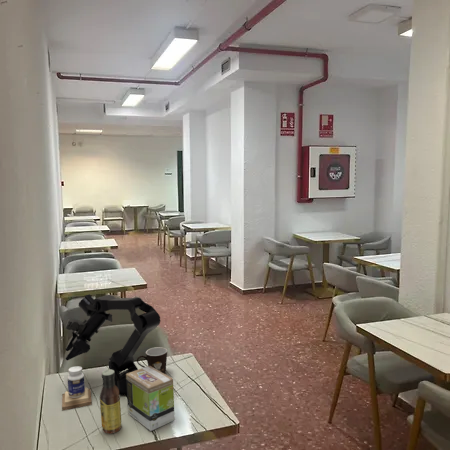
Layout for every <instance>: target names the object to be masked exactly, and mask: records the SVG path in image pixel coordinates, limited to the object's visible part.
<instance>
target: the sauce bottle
mask: <svg viewBox="0 0 450 450" xmlns="http://www.w3.org/2000/svg"><path fill="white" fill-rule="evenodd" d="M114 377H115V371H114V370H111V369H109V368H108V369H105V370H103V371H102V372H101V378H102V385H101V386H102V387H101V391H100V393H99V407H100V421H101V428H102V431H103V433H105V434H109V435H110V434H116V433H118V432H119V431H120V430H121V428H122V408H121V397H120V395H119V389H118V388H117V386H116V385H115V378H114Z"/></svg>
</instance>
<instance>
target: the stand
mask: <svg viewBox="0 0 450 450" xmlns="http://www.w3.org/2000/svg"><path fill="white" fill-rule="evenodd" d="M61 396H62V397H61V400H62V401H61V406H62V407H61V411H68V410H71V409H72V410H73V409H78V408H83V407H86V406H87V407H88V406H92V405H93V399H92V390H91V388H88V387H85V394H84V395H83V396H81V397H78V398H71V397H69V394H68V391H64V393H62V395H61Z"/></svg>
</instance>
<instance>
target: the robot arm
mask: <svg viewBox="0 0 450 450" xmlns="http://www.w3.org/2000/svg"><path fill="white" fill-rule="evenodd" d="M78 308H80V310H82V312H83V313H84V314H85V315H86V316H87V317H88V318H87V319H84V320H78V319H75V318H72V317H69V318H68V319H67V321H66V324H65V329H66V330H68V331H71V335H72V336H71V338H70V340H69V342H68V344H67V346H66V348H65V351H66V352H68V354H67V355H66V357H65V361H70V360H72V359H73V358H76V357H77V356H79V355H82V354H83V355H84V354H87V353H88V352H89V351H90V350H91V343H90V342H91V341H92V337H94V336H95V334H98V333H99V330H100V328H101V327H102V326H103V325H104V324H105V323H106V321H108V322H110V323H112V322H113V314H112V313H108V312H107V311H113V310H114V311H115V310H116V311H117V310H118V311H125V310H126V311H128V312H129V315H130V319H131V322H132V323H133V327H134V330H133V331H132V333H131V334H130V336H129V338H128V339H127V341H126V342H125V344H124V346H123V347H122V348H120V349H119V350H116V351H115V352H112V354H111V357H110V358H108V360H109V362H108V370H109V369H111V370H114V371H115V377H114V378H115V385H116V386H117V388H118V389H119V396H126V397H127V383H126V374H127V373H130V372H133V371H136V370H139V368H138V367H137V365H136V364H135V362H134V361H135V359H134V355H135V353H136V352H137V351H138V349H139V347H140V346H141V344H142V343H143V342H144V340H145V338H146V337H147V335H148V334H149V333H151V332H152V331H153V330H155V329H156V328H157V327H159V325H160V324H161V322H162V320H161V316H160V314H159V313H158V311H157V310H156V309H155V308H154V307H153V306H152V305H150V304H148V303H146V302H145V301H144V300H143V299H142V298H141V297H140V296H139V297H138V296H136V297H115V296H114V295H111V294H107V295H103V296H99V297H96V298H93V297H92V295H91V294H86V295H84V297H83V298H82V299H81V300H80V301H79V302H78ZM137 309H139V310H140V311H142V312H144V313H141V314H138V313H137V312H136V310H137Z"/></svg>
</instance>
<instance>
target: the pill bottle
mask: <svg viewBox="0 0 450 450" xmlns="http://www.w3.org/2000/svg"><path fill="white" fill-rule="evenodd" d="M85 386H86V385H85V374H84V373H83V367H82V366H80V365H79V366H78V365H76V366H71V367H69V368H68V375H67V390H68V394H69V397H71V398H78V397H81V396H83V395H84V394H85V388H86V387H85Z"/></svg>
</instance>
